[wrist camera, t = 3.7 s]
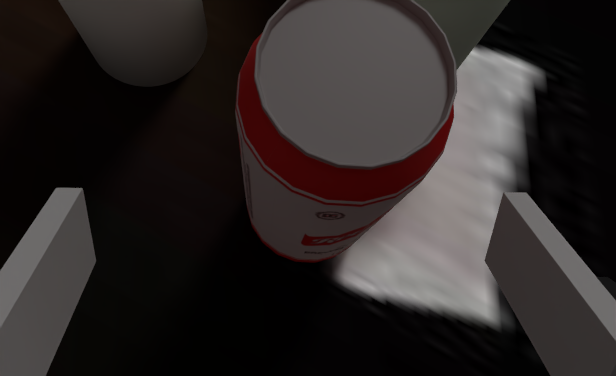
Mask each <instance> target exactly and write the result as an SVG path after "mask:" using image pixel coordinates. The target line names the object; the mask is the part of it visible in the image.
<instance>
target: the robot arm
mask: <svg viewBox="0 0 616 376" xmlns="http://www.w3.org/2000/svg"><path fill="white" fill-rule="evenodd" d="M95 262H96V258H95V253H94V247H93V242H92V236H91V231H90V225H89V220H88V214H87V209H86V204H85V198H84V193H83V188H56V189H55V190H54V192H53V193H52V195H51V196H50V198H49V199H48V201H47V202H46V204H45V205H44V207H43V208H42V210H41V211H40V213H39V214H38V216H37V217H36V219H35V220H34V222H33V223H32V224H31V226H30V227H29V229H28V230H27V232H26V233H25V235H24V236H23V238H22V239H21V241H20V242H19V244H18V245H17V247H16V248H15V250H14V251H13V253H12V254H11V256H10V257H9V259H8V260H7V262H6V263H5V265H4V266H3V268H2V269H1V271H0V376H46V373H47V371H48V369H49V367H50V364H51V362H52V360H53V357H54V355H55V353H56V351H57V348H58V346H59V344H60V342H61V339H62V337H63V335H64V333H65V330H66V328H67V326H68V323H69V321H70V319H71V317H72V314H73V312H74V310H75V308H76V305H77V303H78V301H79V299H80V296H81V294H82V292H83V289H84V287H85V285H86V283H87V280H88V278H89V276H90V274H91V271H92V269H93V267H94V265H95ZM485 262H486V264H487V265H488V267H489V269H490V271H491V272H492V274H493V276H494V278H495V279H496V281H497V283H498V285H499V286H500V288H501V290H502V292H503V293H504V295H505V297H506V299H507V300H508V302H509V304H510V306H511V307H512V309H513V311H514V313H515V314H516V316H517V318H518V319H519V321H520V323H521V325H522V326H523V328H524V330H525V332H526V333H527V335H528V337H529V339H530V340H531V342H532V344H533V346H534V347H535V349H536V351H537V353H538V354H539V356H540V358H541V360H542V361H543V363H544V365H545V367H546V368H547V370H548V372H549V374H550V375H551V376H616V283H615V282H614V281H612V280H611V279H609V278H608V277H596V276H595V275H594V274H593V273H592V271H591V270H590V269H589V268H588V267H587V265H586V264H585V263H584V262H583V260H582V259H581V258H580V257H579V256H578V254H577V253H576V252H575V251H574V250H573V248H572V247H571V246H570V245H569V244H568V242H567V241H566V240H565V239H564V238H563V236H562V235H561V234H560V233H559V232H558V230H557V229H556V228H555V227H554V225H553V224H552V223H551V222H550V221H549V219H548V218H547V217H546V216H545V215H544V213H543V212H542V211H541V210H540V209H539V207H538V206H537V205H536V204H535V203H534V201H533V200H532V199H531V198H530V197H529V195H528V194H527V193H505V192H504V193H503V196H502V200H501V203H500V207H499V211H498V214H497V218H496V222H495V225H494V229H493V233H492V236H491V240H490V243H489V247H488V251H487V254H486V258H485Z"/></svg>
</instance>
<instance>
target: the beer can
mask: <svg viewBox="0 0 616 376" xmlns="http://www.w3.org/2000/svg"><path fill="white" fill-rule="evenodd" d="M456 93H457V77H456V61H455V58H454V55H453V53H452V50H451V47H450V45H449V42H448V39H447V37H446V34H445V33H444V32H443V30H442V29H441V28H440V27H439V25H438V24H437V23H436V21H435V20H434V19H433V17H432V16H431V15H430V14H429V12H428V11H427V10H426V9H424V8H423V7H421V6H420V5H419V4H417V3H416V2H415V1H413V0H287V1H286V2H285V3H284V4H283V5H282V6H281V7H280V8H279V9H278V10H277V11H276V12H275V13H274V15H273V16H272V17H271V18H270V19H269V20H268V22H267V24H266V26H265V28H264V31H263V32H262V33H261V35H260V36H259V37H258V38H257V39H256V40H255V41H254V42H253V44H252V46H251V48H250V50H249V53H248V55H247V57H246V59H245V62H244V64H243V66H242V68H241V70H240V73H239V75H238V84H237V96H236V109H235V113H236V121H237V129H238V138H239V146H240V154H241V162H242V170H243V179H244V187H245V195H246V203H247V209H248V213H249V217H250V221H251V225H252V227H253V229H254V230H255V232H256V233H257V235H258V236H259V238H260V240H261V241H262V243H264V244H265V245H266V246H267V247H269V248H270V249H271V250H272V251H273V252H275V253H276V254H277V255H279V256H282V257H285V258H287V259H290V260H293V261H295V262H313V263H315V262H319V261H323V260H326V259H330V258H334V257H335V256H337V255H338V254H340V253H341V252H343V251H344V250H346V249H347V248H349V247H350V246H351V245H352V244H353V243H354V242H356V241H357V240H358V239H359V238H360V237H361V236H362V235H363V234H364V233H365V232H367V231H368V230H369V229H370V228H371V227H372V226H373V225H374V224H375V223H376V222H378V221H379V220H380V219H381V218H382V217H383V216H384V215H385V214H386V213H387V212H389V211H390V210H391V209H392V208H393V207H394V206H395V205H396V204H397V203H398V202H400V201H401V200H402V199H403V198H404V197H405V196H406V195H407V194H408V193H409V192H411V191H412V190H413V189H414V188H415V187H416V186H417V185H418V184H419V183H420V182H421V181H422V180H423V179H424V178H425V176H426V175H427V174H428V172H429V171H430V170H431V168H432V167H433V166H434V164H435V163H436V162H437V160H438V159H439V158H440V156H441V155H442V154H443V151H444V148H445V145H446V142H447V139H448V135H449V132H450V129H451V126H452V123H453V118H454V106H453V102H454V99H455V96H456Z"/></svg>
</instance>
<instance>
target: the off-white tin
mask: <svg viewBox="0 0 616 376" xmlns="http://www.w3.org/2000/svg"><path fill="white" fill-rule="evenodd" d="M59 2H60V4H61V5H62V7H63V8H64V10H65V12H66V13H67V15H68V16H69V18H70V20H71V21H72V23H73V24H74V26H75V28H76V29H77V31H78V32H79V34H80V35H81V37H82V39H83V40H84V42H85V43H86V45H87V47H88V48H89V50H90V51H91V53H92V55H93V56H94V58H95V59H96V61H97V62H98V64H99V65H100V66H101V68H102V69H103V70H104V71H105V72H107V73H108V74H109V75H110V76H112V77H113V78H115V79H117V80H119V81H121V82H124V83H127V84H130V85H134V86H142V87H153V86H159V85H164V84H167V83H170V82H173V81H175V80H177V79H179V78H181V77H182V76H184V75H185V74H186V73H188V72H189V71H190V70H191V69H192V68H193V67H194V66H195V65H196V64H197V62H198V61H199V59H200V58H201V56H202V54H203V52H204V49H205V46H206V42H207V26H206V20H205V15H204V10H203V4H202V0H59Z"/></svg>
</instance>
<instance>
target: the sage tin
mask: <svg viewBox="0 0 616 376" xmlns="http://www.w3.org/2000/svg"><path fill="white" fill-rule="evenodd" d="M413 1H415V2H416V3H417V4H419V5H420V6H421V7H423V8H424V9H426V10H427V11H428V12H429V14H430V15H431V16H432V17H433V19H434V20H435V21H436V23H437V24H438V25H439V27H440V28H441V29H442V30H443V32H444V33H445V34H446V37H447V39H448V42H449V45H450V47H451V50H452V53H453V55H454V58H455V61H456V70H457V69H458V68H459V67H460V65H461V64H462V63H463V61H464V60H465V59H466V57H467V56H468V55H469V53H470V52H471V51H472V49H473V48H474V47H475V46H476V44H477V43H478V42H479V40H480V39H481V38H482V36H483V35H484V34H485V32H486V31H487V30H488V29H489V27H490V26H491V25H492V23H493V22H494V21H495V19H496V18H497V17H498V15H499V14H500V13H501V11H502V10H503V9H504V8H505V6H506V5H507V4H508V2H509V1H510V0H413Z"/></svg>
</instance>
